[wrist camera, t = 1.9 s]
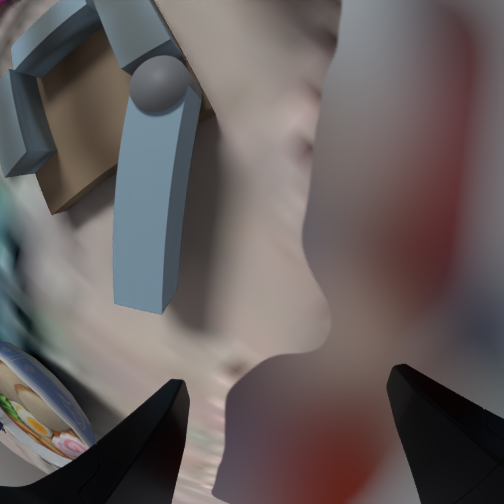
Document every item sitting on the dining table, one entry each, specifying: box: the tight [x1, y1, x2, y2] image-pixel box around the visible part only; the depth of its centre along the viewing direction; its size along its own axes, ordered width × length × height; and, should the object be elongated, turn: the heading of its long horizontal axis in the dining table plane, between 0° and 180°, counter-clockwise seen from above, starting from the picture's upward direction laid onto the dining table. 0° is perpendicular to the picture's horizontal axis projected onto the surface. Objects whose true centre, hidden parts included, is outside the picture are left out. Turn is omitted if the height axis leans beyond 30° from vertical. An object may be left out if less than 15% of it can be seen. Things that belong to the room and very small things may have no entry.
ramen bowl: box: [0, 341, 97, 467], centre depth 21 cm, size 25×23×8 cm
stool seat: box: [0, 0, 215, 215], centre depth 13 cm, size 14×14×6 cm
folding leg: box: [113, 55, 202, 315], centre depth 14 cm, size 14×3×4 cm, turn 170°
